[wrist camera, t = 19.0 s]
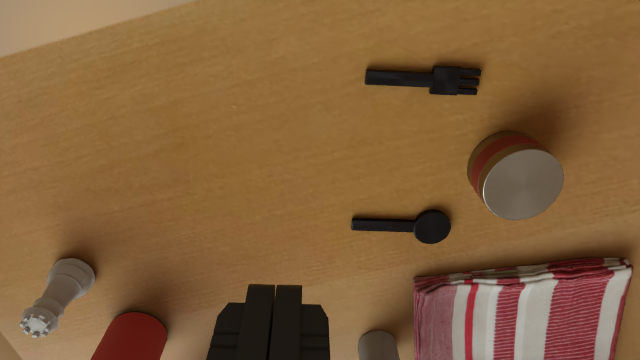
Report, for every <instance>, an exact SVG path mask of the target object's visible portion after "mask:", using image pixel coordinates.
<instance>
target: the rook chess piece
mask: <svg viewBox="0 0 640 360" xmlns="http://www.w3.org/2000/svg"><path fill="white" fill-rule="evenodd" d="M94 283H95V275H94V272H93V270H92V268H91V267H90V266H89V265H88V264H87V263H86V262H84V261H82V260H80V259H75V258H68V259H61V260H60V261H58V262H56V263H55V264H54V266H53V267H52V269H51V270H50V272H49V273H48V279H47V288H46V290H45V292H44V294H43V295H42V297H41V298H39V299H37V300H36V301H35V302H34V305H33V307H30V308H28V309H26V310H24V312H23V313H22V321H21V323H20V327H24V326H25V328H24V330H23V332H24V333H25V334H28V333H29V331H30V332H32V333H33V334H32V337H34V338H37V337H38V336H39V335H40V334H41V335H40V336H41V337H42V338H43V337H45V336H46V335H47V334H48V333H50V332H52V331H54V330H56V328H57V327H58V319H59V318H61V317H62V315H63V314H64V309H65V308H66V307H67V306H68V305H69V304H70V302H71V301H73V300H75V299H77V298H79V297H81V296H83V295H85V294H86V293H87V292H88V291H89V289H90V288H91V287H92V286H93V284H94Z"/></svg>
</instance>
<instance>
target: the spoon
mask: <svg viewBox="0 0 640 360" xmlns="http://www.w3.org/2000/svg"><path fill="white" fill-rule="evenodd" d="M351 229H352V230H358V231H390V232H414V235H415V237H416V238H417V239H418V240H419V241H421V242H423V243H426V244H434V243H438V242H440V241H442V240H443V239H445V238H446V237H447V236H448V234H449V232H450V229H451V223H450V220H449V218H448V216H447V215H446V214H445V213H444V212H442V211H440V210H435V209H431V210H426V211H424V212H422V213H420V214H419V215H418V216H417V217H416V218H415V220H407V219H376V218H352V224H351Z"/></svg>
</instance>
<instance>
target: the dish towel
mask: <svg viewBox="0 0 640 360" xmlns="http://www.w3.org/2000/svg"><path fill="white" fill-rule="evenodd" d="M632 272H633V266H632V264H631V262H629V261H628V259H626V258H586V259H577V260H566V261H557V262H551V263H548V264H543V265H533V266H516V267H507V268H498V269H491V270H481V271H469V272H464V273H455V274H445V275H436V276H428V277H416V278H413V281H414V289H413V292H414V341H415V344H414V345H415V360H614V355H615V350H616V343H617V338H618V334H619V330H620V325H621V320H622V315H623V309H624V305H625V297H626V295H627V291H628V288H629V285H630V282H631V276H632Z"/></svg>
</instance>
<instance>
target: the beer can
mask: <svg viewBox="0 0 640 360" xmlns="http://www.w3.org/2000/svg"><path fill="white" fill-rule="evenodd" d="M166 341H167V333H166V330H165V328H164V326H163V325H162V324H161V323H160V322H159V321H158V320H157V319H156V318H154V317H152V316H151V315H148V314H144V313H141V312H130V313H125V314H122V315H120V316H118V317H116V318H115V319H114V320H113V321H112V322H111V323H110V325H109V327H108V329H107V331H106V332H105V334H104V336H103V338H102V340H101V342H100V343H99V345H98V347H97V349H96V351H95V353H94V354H93V356H92V358H91V360H160V357H161V355H162V352H163V349H164V347H165V344H166Z"/></svg>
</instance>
